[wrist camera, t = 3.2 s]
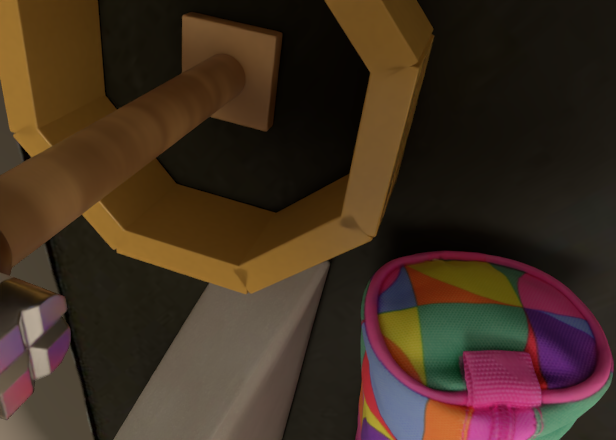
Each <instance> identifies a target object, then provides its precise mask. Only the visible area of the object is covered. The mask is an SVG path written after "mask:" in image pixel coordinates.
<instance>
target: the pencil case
mask: <svg viewBox="0 0 616 440" xmlns="http://www.w3.org/2000/svg"><path fill="white" fill-rule="evenodd" d="M361 325H362V330H361V371H362V384H361V392H360V398H359V413H358V428H357V433H356V438H355V440H559V439H560V438H561V437H562V436H563V435H564V434H565V433H566V432H567V431H568V430H569V429H570V428H571V426H572V425H573V424H574V422H575V421H576V419H577V418H578V417H580V416H581V415H582V414H584V413H585V412H586V411H587V410H589V409H590V408H591V407H592V406H594V405H595V404H596V403H597V402H598V401H599V400H600V398H601V397H602V396H603V395H604V393H605V392H606V391H607V389H608V388H609V386H610V384H611V380H612V376H613V357H612V353H611V350H610V347H609V345H608V342H607V339H606V336H605V334H604V331H603V329H602V327H601V326H600V324H599V322H598V321H597V319H596V318H595V317H594V315H593V314H592V312H591V311H590V310H589V309H588V308H587V307H586V305H585V304H584V303H583V302H582V301H581V300H580V299H579V298H578V297H577V296H576V295H575V294H574V293H573V292H572V291H571V290H570V289H569V288H568V287H566V286H565V285H564V284H562V283H561V282H560V281H558V280H557V279H555V278H554V277H552V276H551V275H549V274H547V273H545V272H543V271H541V270H539V269H537V268H534V267H532V266H530V265H527V264H524V263H521V262H518V261H515V260H512V259H508V258H504V257H499V256H493V255H487V254H483V253H476V252H463V251H432V252H424V253H418V254H413V255H409V256H404V257H400V258H397V259H394V260H391V261H389V262H387V263H386V264H385V265H383V266H382V267H381V268H380V269H378V270H377V271H376V272H375V273H374V275H373V276H372V277H371V278H370V280H369V281H368V284H367V286H366V289H365V291H364V294H363V299H362V304H361Z"/></svg>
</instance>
